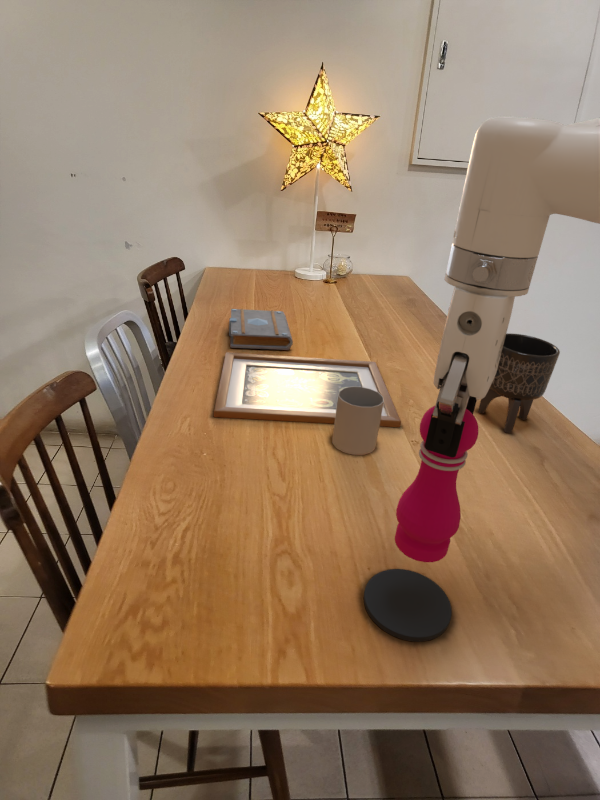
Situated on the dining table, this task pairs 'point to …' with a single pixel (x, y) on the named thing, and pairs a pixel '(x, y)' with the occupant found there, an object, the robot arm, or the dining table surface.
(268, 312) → the book
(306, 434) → the dining table surface
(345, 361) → the wall art
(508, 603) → the dining table surface
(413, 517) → the pepper mill
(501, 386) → the planter
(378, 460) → the dining table surface
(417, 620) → the trivet
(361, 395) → the cup
